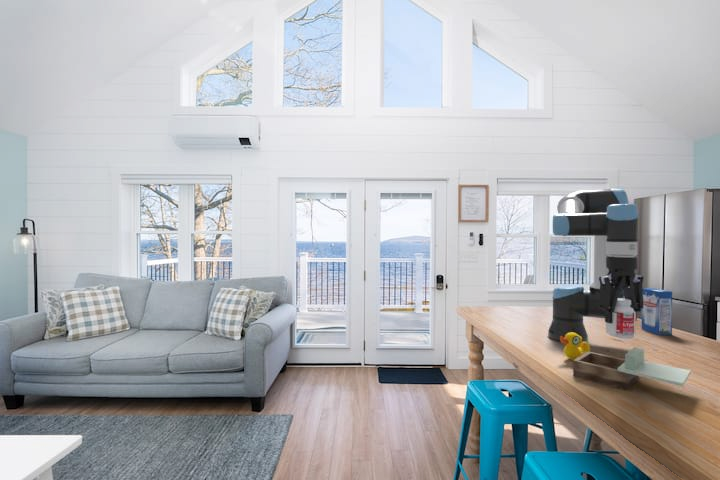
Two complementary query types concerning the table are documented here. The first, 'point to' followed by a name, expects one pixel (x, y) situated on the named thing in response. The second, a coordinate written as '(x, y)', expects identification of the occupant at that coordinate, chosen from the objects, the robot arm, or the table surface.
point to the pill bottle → (624, 319)
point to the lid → (652, 369)
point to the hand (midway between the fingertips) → (620, 332)
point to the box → (602, 370)
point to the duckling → (574, 345)
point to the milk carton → (657, 311)
